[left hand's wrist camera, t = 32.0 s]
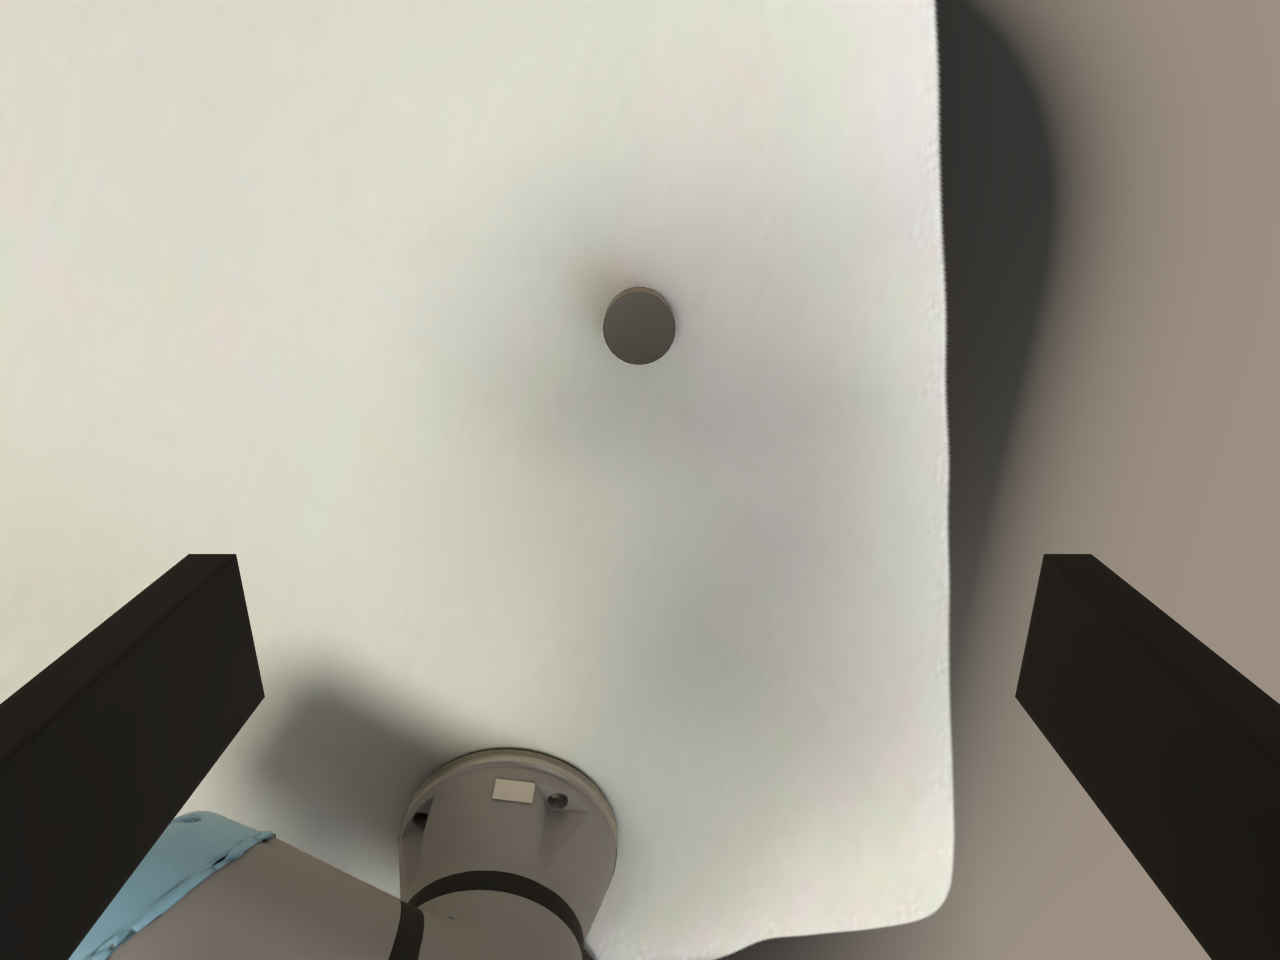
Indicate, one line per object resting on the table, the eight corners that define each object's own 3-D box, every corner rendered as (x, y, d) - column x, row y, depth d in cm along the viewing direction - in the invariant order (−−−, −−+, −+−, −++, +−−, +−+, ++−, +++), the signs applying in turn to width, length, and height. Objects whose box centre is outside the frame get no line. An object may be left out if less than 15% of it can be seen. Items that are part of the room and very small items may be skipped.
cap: (686, 313, 43) (689, 320, 41) (646, 368, 44) (647, 378, 42) (631, 273, 42) (630, 277, 40) (591, 329, 43) (589, 337, 41)
